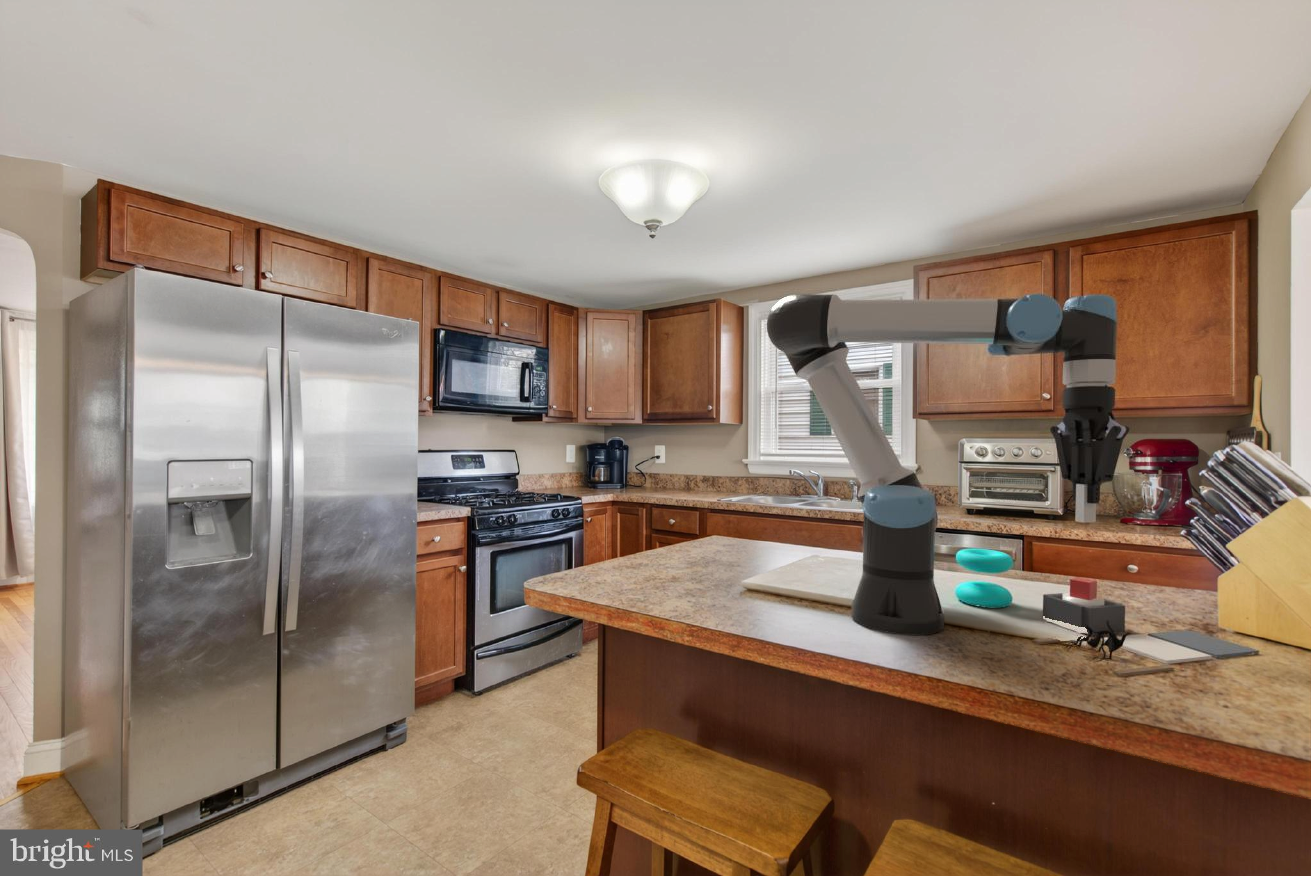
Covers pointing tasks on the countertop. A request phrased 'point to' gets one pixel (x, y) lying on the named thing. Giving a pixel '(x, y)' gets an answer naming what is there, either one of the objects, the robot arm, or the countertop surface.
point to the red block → (1083, 592)
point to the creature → (1111, 642)
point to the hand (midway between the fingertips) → (1085, 521)
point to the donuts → (984, 591)
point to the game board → (1139, 635)
